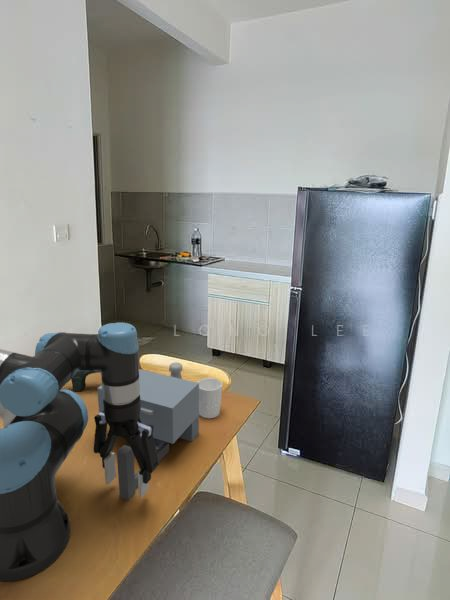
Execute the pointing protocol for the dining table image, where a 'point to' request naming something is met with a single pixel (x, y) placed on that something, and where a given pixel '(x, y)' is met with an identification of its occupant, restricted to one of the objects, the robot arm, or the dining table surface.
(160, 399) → the cabinet
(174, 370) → the salt shaker
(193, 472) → the dining table surface
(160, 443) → the steel token
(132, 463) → the l-shaped tool
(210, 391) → the white cup
